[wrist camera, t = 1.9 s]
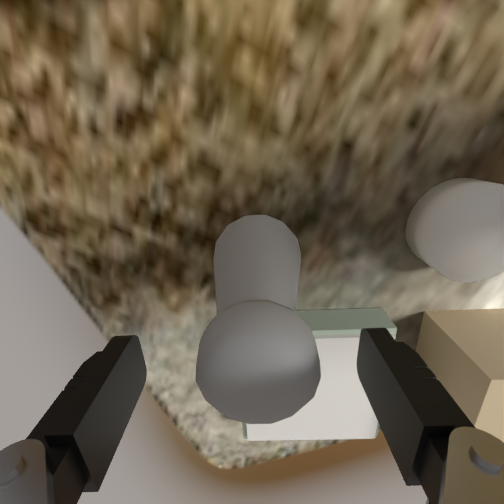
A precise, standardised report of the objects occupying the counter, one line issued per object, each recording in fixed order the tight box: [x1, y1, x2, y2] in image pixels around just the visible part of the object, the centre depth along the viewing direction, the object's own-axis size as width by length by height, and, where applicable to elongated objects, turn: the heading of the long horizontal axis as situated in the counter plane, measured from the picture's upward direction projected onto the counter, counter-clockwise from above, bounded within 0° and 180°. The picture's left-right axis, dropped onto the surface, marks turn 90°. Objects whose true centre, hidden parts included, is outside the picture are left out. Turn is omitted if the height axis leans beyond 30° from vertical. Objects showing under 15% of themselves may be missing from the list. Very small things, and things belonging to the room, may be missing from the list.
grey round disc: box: [405, 178, 504, 283], centre depth 18 cm, size 6×6×3 cm
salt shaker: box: [196, 215, 321, 424], centre depth 15 cm, size 6×6×13 cm
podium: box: [242, 308, 397, 441], centre depth 24 cm, size 12×12×3 cm
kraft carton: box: [415, 309, 504, 442], centre depth 21 cm, size 7×11×7 cm, turn 3°
